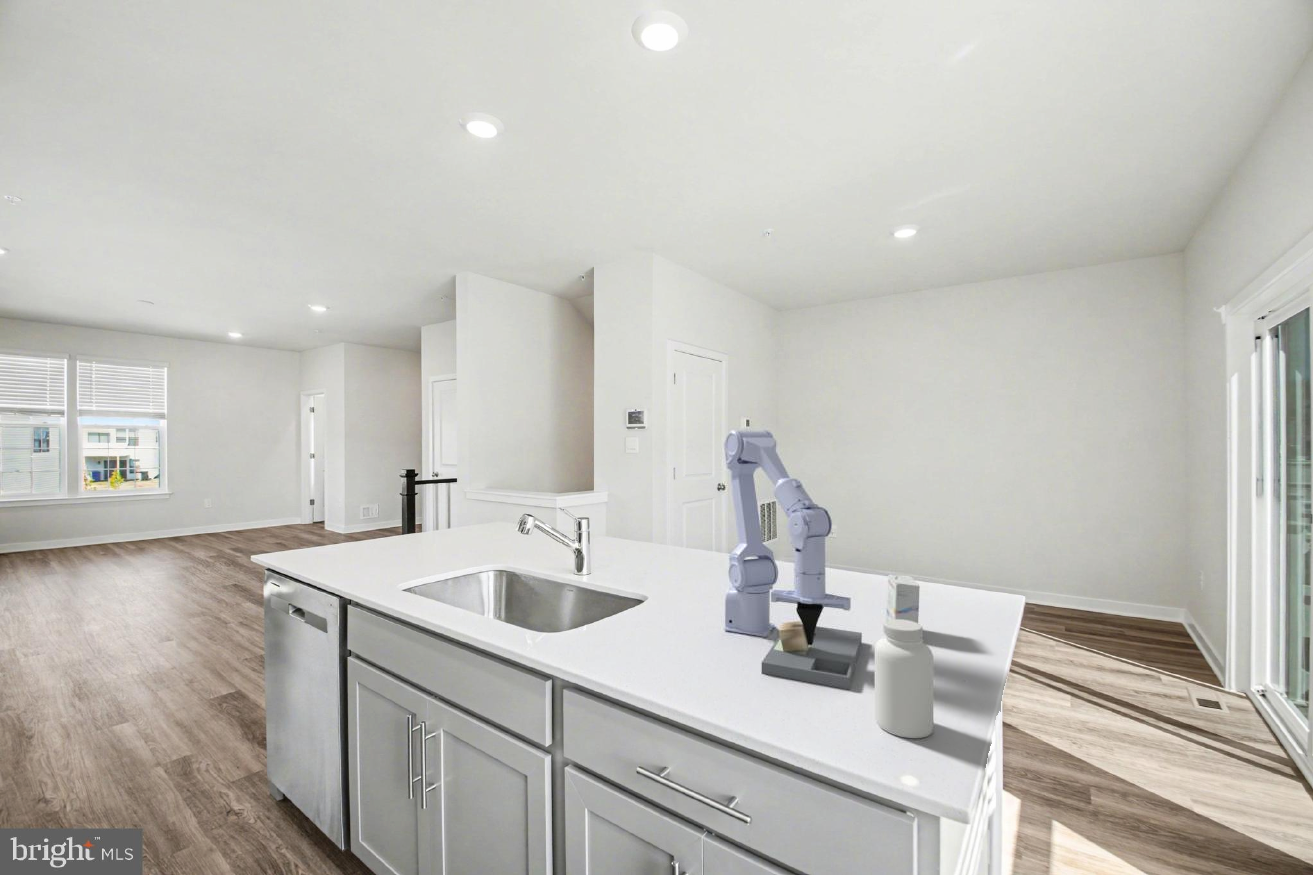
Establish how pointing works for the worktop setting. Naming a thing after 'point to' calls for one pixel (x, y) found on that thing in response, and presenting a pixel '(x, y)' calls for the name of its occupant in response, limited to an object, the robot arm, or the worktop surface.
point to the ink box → (902, 598)
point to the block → (793, 636)
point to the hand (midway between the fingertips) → (810, 643)
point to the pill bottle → (904, 680)
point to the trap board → (817, 658)
